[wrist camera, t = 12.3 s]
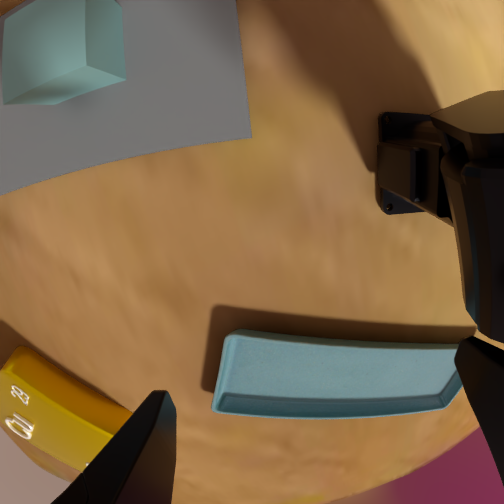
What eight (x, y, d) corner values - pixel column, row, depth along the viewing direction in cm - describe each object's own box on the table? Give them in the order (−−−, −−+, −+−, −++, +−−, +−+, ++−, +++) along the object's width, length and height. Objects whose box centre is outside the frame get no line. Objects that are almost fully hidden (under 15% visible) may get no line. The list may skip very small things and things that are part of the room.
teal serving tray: (211, 395, 25) (209, 417, 22) (226, 315, 21) (225, 336, 19) (437, 395, 28) (445, 409, 26) (476, 334, 25) (488, 348, 22)
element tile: (104, 455, 30) (97, 483, 26) (9, 398, 26) (-5, 423, 21) (146, 415, 26) (138, 453, 22) (19, 335, 22) (-4, 366, 17)
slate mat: (227, -57, 11) (226, -65, 10) (251, 137, 16) (252, 138, 15) (-4, 26, 11) (-11, 24, 10) (6, 192, 16) (-2, 196, 15)
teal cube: (121, 7, 12) (86, -25, 7) (126, 80, 14) (86, 65, 9) (51, 35, 12) (4, 19, 7) (54, 104, 14) (2, 104, 9)
